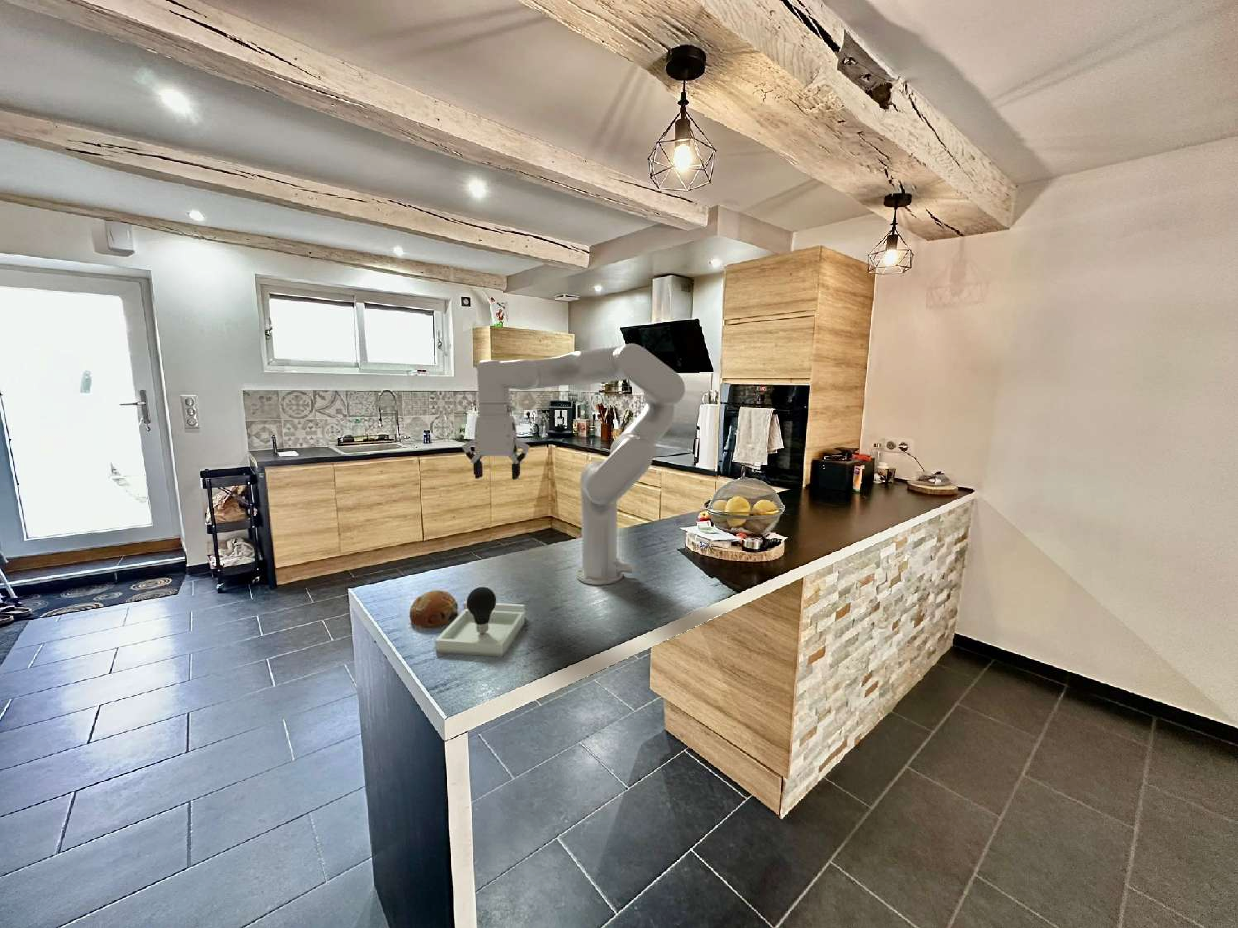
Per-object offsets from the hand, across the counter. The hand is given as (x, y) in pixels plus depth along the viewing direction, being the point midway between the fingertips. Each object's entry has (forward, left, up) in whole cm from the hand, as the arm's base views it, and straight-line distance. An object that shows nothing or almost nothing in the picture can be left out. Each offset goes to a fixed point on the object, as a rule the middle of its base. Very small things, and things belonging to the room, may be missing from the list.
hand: (497, 478), depth 123 cm
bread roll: (+8, +20, -29) cm, 36 cm away
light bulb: (-6, +27, -28) cm, 39 cm away
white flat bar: (-5, +18, -28) cm, 34 cm away
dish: (-6, +27, -28) cm, 40 cm away
